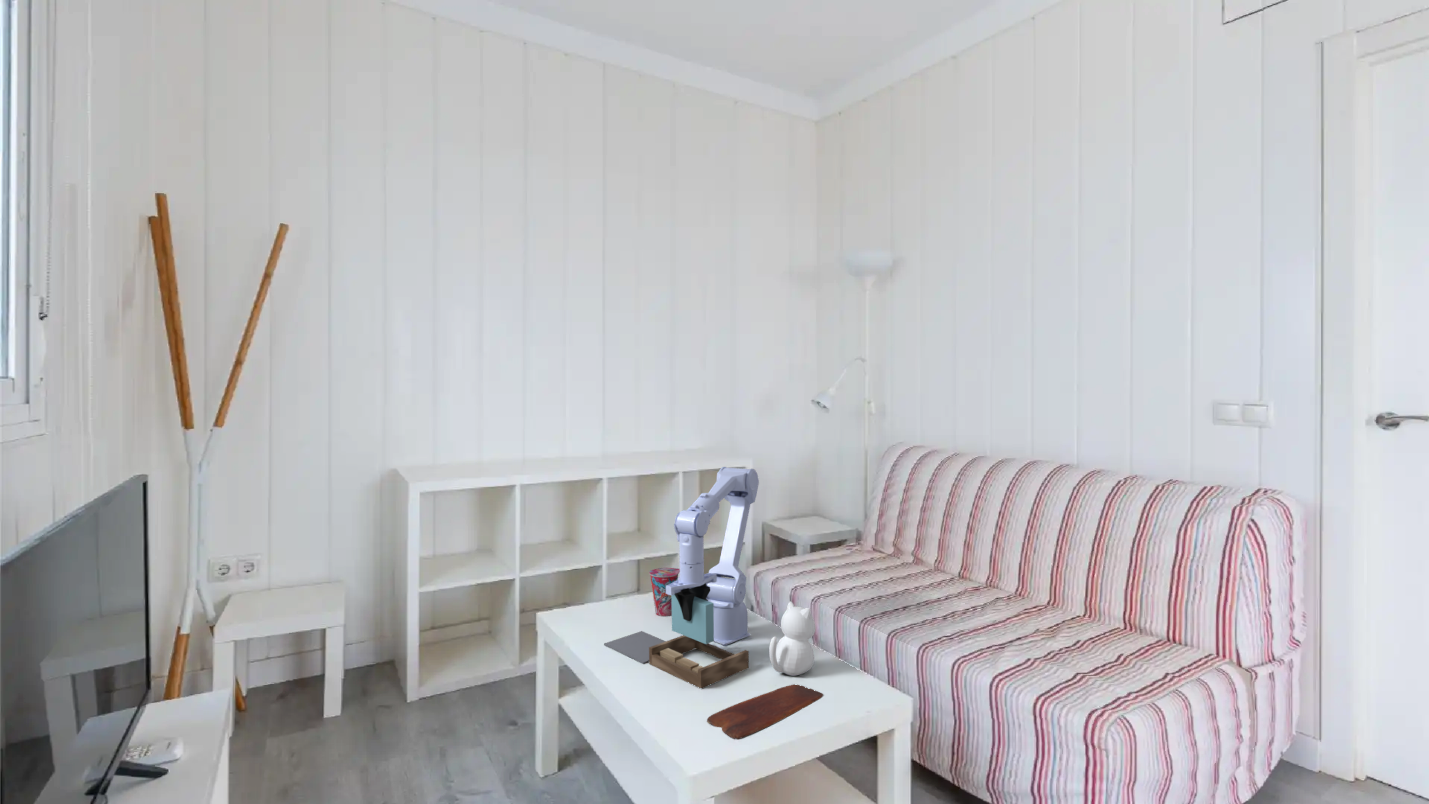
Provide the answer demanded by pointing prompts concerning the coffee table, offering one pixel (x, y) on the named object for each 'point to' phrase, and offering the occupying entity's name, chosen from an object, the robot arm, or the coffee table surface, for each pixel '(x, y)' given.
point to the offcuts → (680, 659)
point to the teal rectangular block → (695, 620)
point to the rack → (705, 674)
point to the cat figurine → (794, 642)
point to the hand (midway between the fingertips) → (692, 618)
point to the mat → (635, 645)
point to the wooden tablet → (763, 710)
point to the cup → (663, 589)
